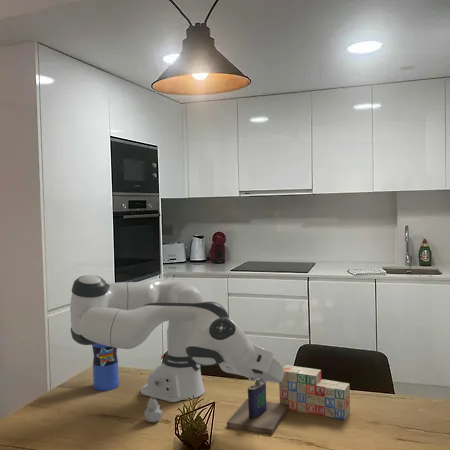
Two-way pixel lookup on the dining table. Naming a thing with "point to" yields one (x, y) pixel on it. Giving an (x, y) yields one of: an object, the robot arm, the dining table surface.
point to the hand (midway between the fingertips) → (259, 379)
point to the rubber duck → (153, 411)
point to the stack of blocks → (314, 393)
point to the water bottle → (105, 367)
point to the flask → (257, 399)
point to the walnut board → (258, 418)
